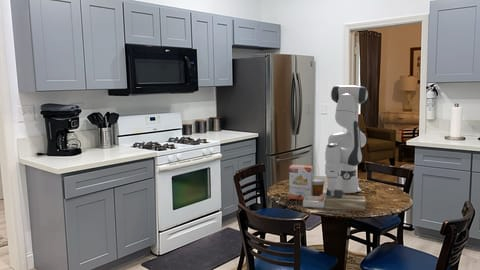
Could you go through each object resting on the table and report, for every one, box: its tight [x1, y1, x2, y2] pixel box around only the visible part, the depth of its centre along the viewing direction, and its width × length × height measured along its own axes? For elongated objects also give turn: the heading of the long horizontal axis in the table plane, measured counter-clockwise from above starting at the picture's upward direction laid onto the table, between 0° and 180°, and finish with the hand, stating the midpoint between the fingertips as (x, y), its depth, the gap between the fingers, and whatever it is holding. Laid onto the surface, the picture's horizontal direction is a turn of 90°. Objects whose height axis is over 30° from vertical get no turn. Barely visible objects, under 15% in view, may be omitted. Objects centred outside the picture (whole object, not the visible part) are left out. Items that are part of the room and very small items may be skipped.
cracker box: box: [288, 164, 315, 201], centre depth 248 cm, size 14×6×21 cm, turn 65°
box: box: [302, 195, 326, 209], centre depth 237 cm, size 12×12×4 cm
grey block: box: [323, 186, 344, 198], centre depth 234 cm, size 12×10×4 cm
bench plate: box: [324, 194, 366, 212], centre depth 232 cm, size 12×22×5 cm, turn 74°
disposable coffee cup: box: [312, 177, 325, 196], centre depth 248 cm, size 10×10×12 cm
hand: (332, 194), depth 234 cm, fingers closed on grey block, 2 cm apart
